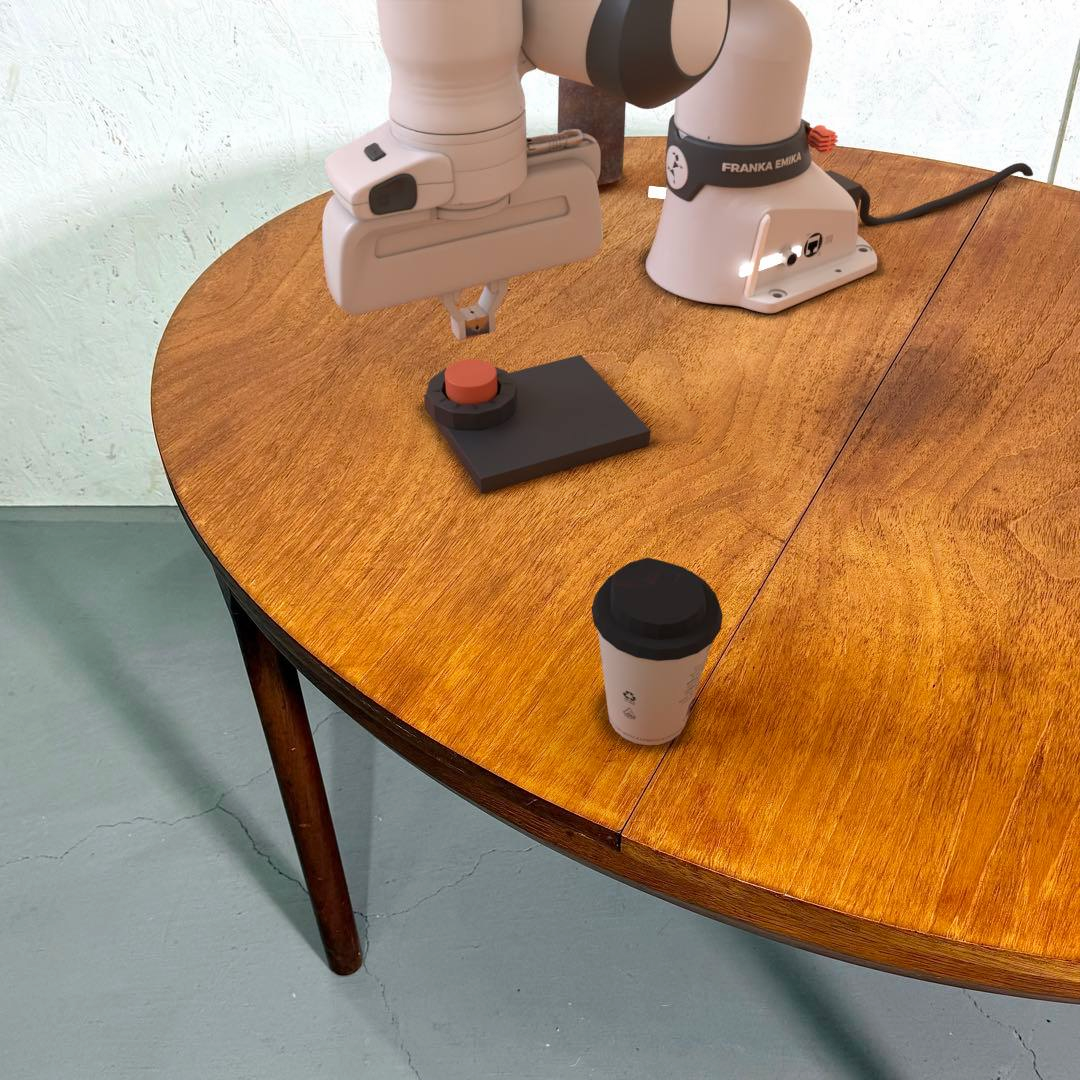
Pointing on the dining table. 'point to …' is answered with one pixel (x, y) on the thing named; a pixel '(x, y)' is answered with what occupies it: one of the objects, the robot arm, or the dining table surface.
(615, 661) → the coffee cup
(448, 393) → the red button cap
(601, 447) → the dark grey button base
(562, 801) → the dining table surface
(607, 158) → the candle
